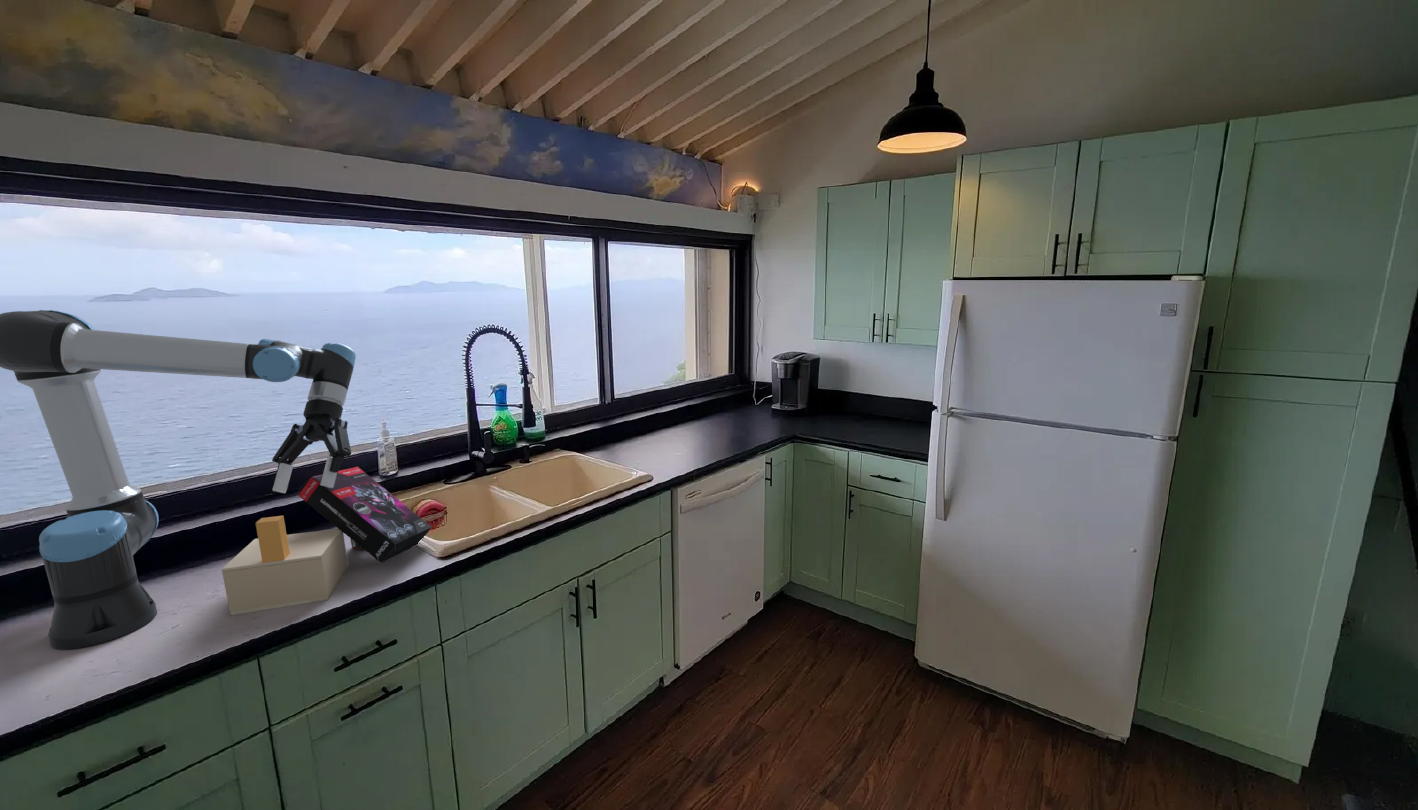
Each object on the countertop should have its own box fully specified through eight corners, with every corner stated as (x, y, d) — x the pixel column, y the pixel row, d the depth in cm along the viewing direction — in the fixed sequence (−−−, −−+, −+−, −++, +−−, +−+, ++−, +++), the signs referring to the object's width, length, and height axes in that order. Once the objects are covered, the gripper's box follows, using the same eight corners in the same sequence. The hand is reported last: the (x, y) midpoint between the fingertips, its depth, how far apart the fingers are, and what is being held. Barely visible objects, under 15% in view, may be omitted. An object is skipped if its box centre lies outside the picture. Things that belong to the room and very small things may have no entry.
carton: (230, 615, 119) (222, 572, 117) (262, 580, 134) (255, 541, 132) (328, 599, 124) (321, 558, 123) (348, 568, 139) (342, 530, 137)
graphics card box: (395, 545, 135) (311, 472, 135) (378, 566, 135) (294, 494, 136) (434, 527, 152) (359, 463, 153) (418, 547, 152) (343, 482, 153)
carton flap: (222, 571, 117) (213, 528, 115) (255, 541, 132) (248, 502, 130) (321, 557, 123) (315, 516, 121) (342, 530, 137) (337, 493, 136)
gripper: (380, 403, 136) (361, 488, 128) (298, 415, 142) (274, 497, 133) (355, 391, 129) (333, 479, 121) (270, 404, 135) (243, 489, 127)
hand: (302, 489), depth 127 cm, fingers open, 13 cm apart
